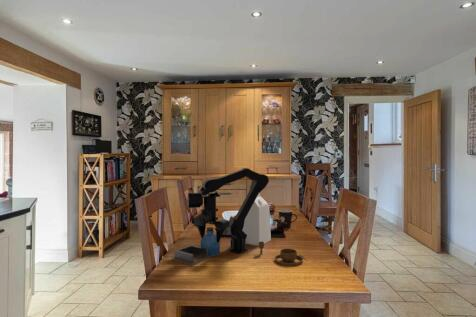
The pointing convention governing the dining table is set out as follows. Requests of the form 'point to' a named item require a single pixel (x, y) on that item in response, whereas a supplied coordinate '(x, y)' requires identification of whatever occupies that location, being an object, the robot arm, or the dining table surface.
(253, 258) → the dining table surface
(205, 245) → the perfume bottle
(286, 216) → the coffee mug
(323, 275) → the dining table surface
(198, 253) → the grey square tray
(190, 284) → the dining table surface
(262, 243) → the place setting
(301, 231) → the dining table surface
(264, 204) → the milk
